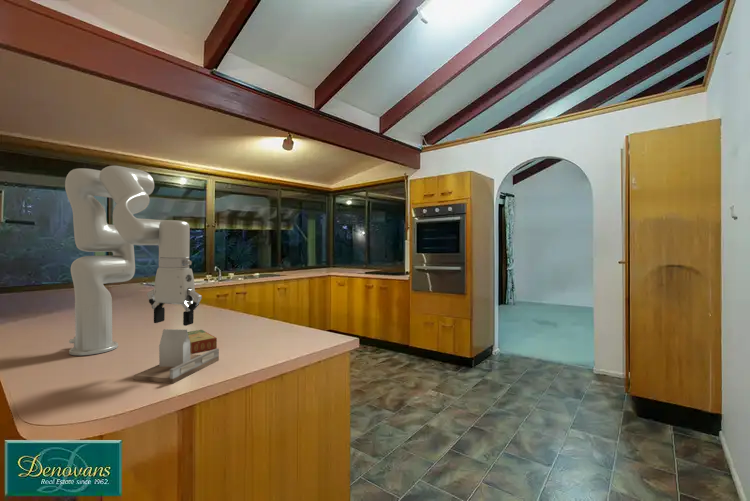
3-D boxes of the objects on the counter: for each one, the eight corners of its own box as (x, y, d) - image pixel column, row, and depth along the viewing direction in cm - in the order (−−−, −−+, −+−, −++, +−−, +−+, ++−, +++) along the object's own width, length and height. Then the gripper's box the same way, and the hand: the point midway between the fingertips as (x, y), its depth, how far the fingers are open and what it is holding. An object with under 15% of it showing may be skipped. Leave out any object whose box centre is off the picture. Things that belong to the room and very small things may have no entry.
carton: (190, 355, 111) (190, 342, 110) (177, 344, 122) (177, 332, 122) (217, 349, 116) (217, 337, 116) (202, 339, 128) (202, 328, 128)
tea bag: (183, 366, 96) (182, 331, 95) (159, 366, 96) (159, 331, 96) (190, 362, 99) (190, 328, 99) (167, 361, 99) (167, 327, 99)
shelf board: (133, 379, 89) (133, 366, 89) (184, 357, 107) (184, 346, 107) (173, 383, 87) (173, 369, 87) (219, 360, 105) (219, 348, 104)
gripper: (209, 264, 99) (209, 322, 99) (159, 261, 102) (158, 318, 103) (191, 265, 91) (190, 329, 92) (137, 263, 95) (136, 324, 95)
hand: (173, 323), depth 97 cm, fingers open, 9 cm apart
